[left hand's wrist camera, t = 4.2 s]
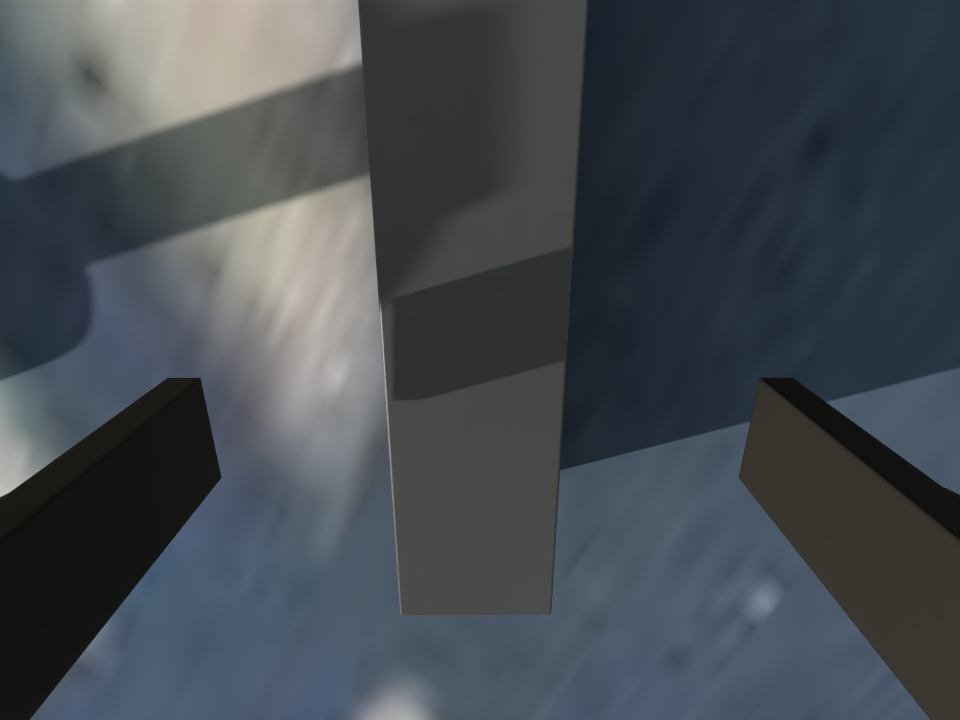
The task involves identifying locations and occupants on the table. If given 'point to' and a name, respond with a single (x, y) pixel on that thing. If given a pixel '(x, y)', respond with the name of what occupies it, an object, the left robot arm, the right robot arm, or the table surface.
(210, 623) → the table surface
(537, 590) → the beam
